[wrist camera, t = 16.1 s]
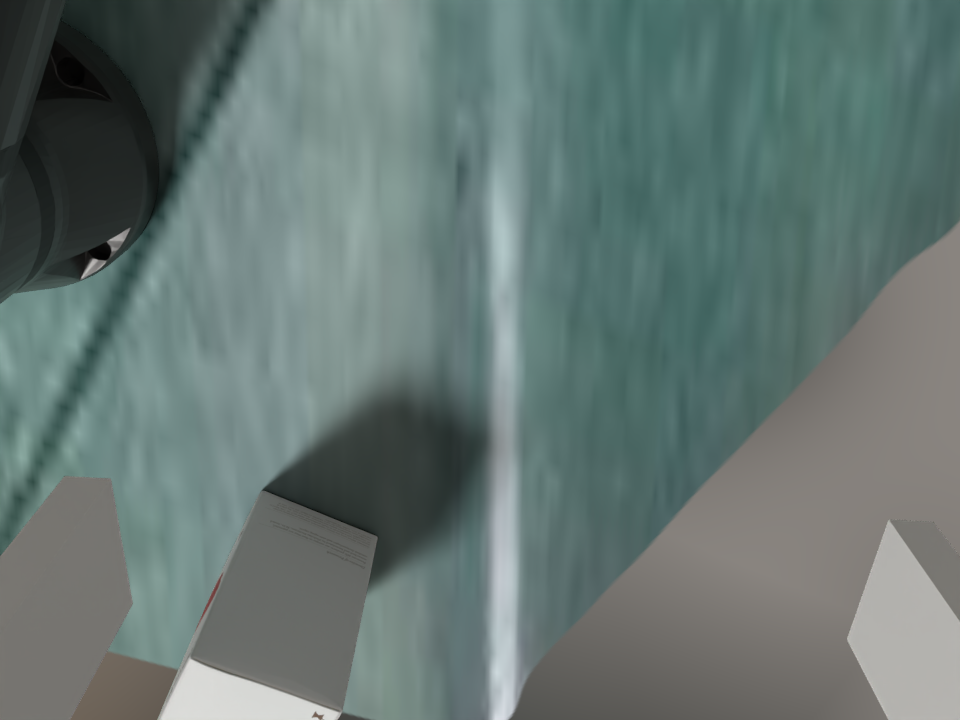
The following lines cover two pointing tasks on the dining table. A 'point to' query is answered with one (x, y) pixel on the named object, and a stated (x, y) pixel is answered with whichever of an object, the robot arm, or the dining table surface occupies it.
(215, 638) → the supplement box
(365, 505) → the dining table surface
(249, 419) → the dining table surface
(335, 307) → the dining table surface
